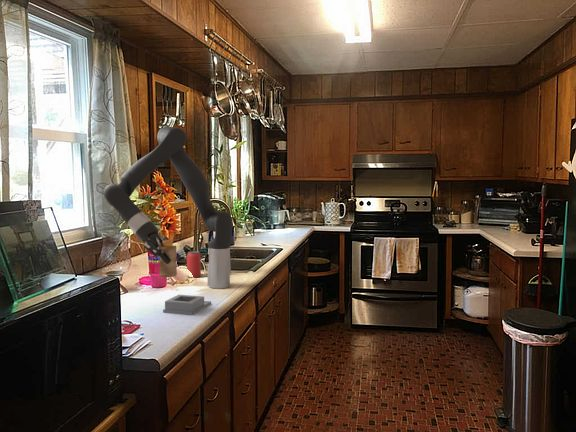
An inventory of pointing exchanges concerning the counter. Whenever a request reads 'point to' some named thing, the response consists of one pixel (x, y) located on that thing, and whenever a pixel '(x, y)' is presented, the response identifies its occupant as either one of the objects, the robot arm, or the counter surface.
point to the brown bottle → (170, 251)
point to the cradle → (185, 304)
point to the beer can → (194, 263)
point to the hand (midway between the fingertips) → (172, 261)
